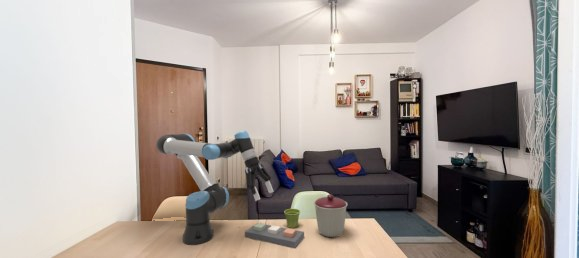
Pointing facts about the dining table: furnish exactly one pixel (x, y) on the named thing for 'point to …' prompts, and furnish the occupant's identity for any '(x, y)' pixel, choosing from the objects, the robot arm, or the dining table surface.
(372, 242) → the dining table surface
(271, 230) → the cream key
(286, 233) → the terracotta key
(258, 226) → the sage key
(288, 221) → the plant pot
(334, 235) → the canister
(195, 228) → the robot arm
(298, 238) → the keypad
